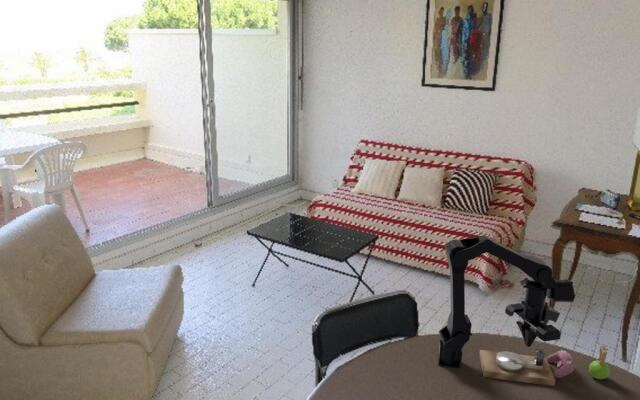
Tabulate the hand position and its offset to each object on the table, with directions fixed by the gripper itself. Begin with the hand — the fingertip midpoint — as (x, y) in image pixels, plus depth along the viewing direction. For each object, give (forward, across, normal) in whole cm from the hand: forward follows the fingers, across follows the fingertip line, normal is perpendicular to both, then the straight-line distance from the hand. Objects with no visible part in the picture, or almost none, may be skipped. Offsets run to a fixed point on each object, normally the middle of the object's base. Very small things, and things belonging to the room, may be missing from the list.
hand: (528, 346), depth 156 cm
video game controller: (+7, -5, -8) cm, 12 cm away
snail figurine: (+7, -12, -17) cm, 22 cm away
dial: (+4, -3, +5) cm, 7 cm away
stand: (+7, -1, +5) cm, 8 cm away
